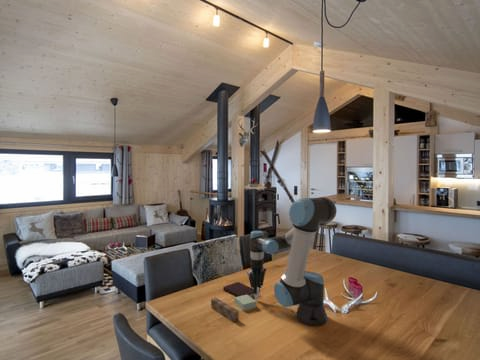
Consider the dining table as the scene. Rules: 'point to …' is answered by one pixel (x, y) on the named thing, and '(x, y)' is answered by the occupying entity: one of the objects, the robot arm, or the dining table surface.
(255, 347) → the dining table surface
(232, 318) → the board
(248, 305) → the block
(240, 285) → the book
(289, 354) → the dining table surface
